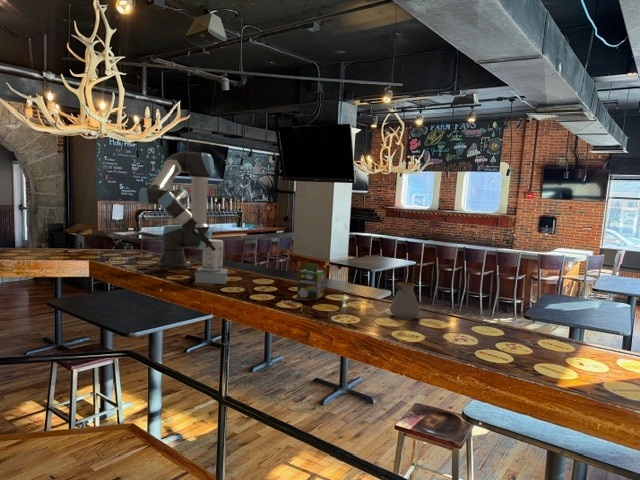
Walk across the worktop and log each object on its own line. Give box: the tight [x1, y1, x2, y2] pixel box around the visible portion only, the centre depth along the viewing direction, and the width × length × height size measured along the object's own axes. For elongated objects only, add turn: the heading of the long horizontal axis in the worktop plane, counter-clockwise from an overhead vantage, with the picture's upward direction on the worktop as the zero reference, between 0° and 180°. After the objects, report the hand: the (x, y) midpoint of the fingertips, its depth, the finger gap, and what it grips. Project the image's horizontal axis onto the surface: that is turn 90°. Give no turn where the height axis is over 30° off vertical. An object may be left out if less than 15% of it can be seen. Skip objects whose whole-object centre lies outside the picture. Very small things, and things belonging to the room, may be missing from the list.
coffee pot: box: [388, 281, 421, 321], centre depth 161 cm, size 21×12×15 cm, turn 153°
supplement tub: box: [201, 238, 224, 272], centre depth 211 cm, size 10×10×15 cm
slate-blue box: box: [194, 267, 228, 285], centre depth 212 cm, size 15×14×5 cm
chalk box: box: [296, 262, 325, 301], centre depth 190 cm, size 9×9×15 cm
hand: (217, 253), depth 212 cm, fingers open, 13 cm apart
